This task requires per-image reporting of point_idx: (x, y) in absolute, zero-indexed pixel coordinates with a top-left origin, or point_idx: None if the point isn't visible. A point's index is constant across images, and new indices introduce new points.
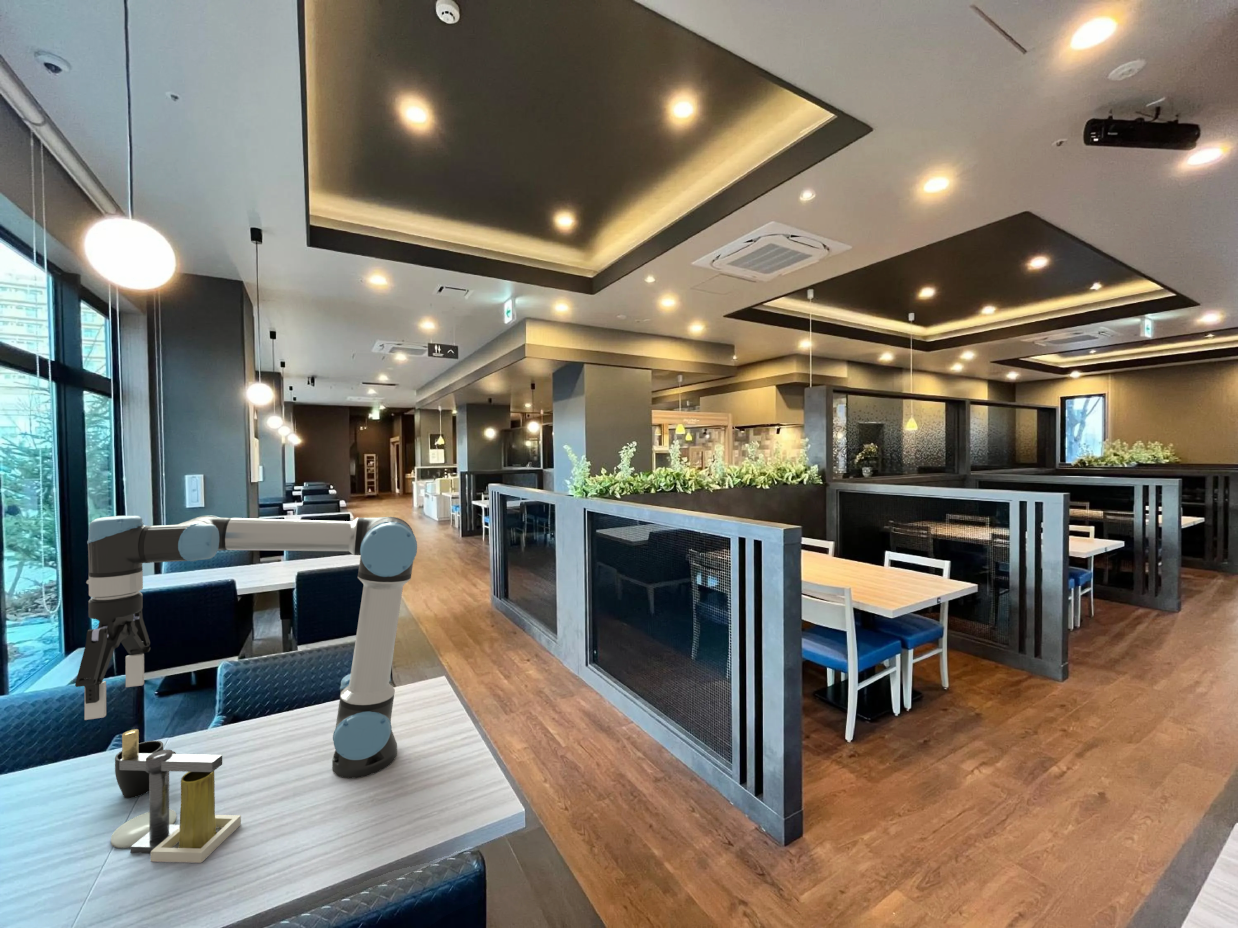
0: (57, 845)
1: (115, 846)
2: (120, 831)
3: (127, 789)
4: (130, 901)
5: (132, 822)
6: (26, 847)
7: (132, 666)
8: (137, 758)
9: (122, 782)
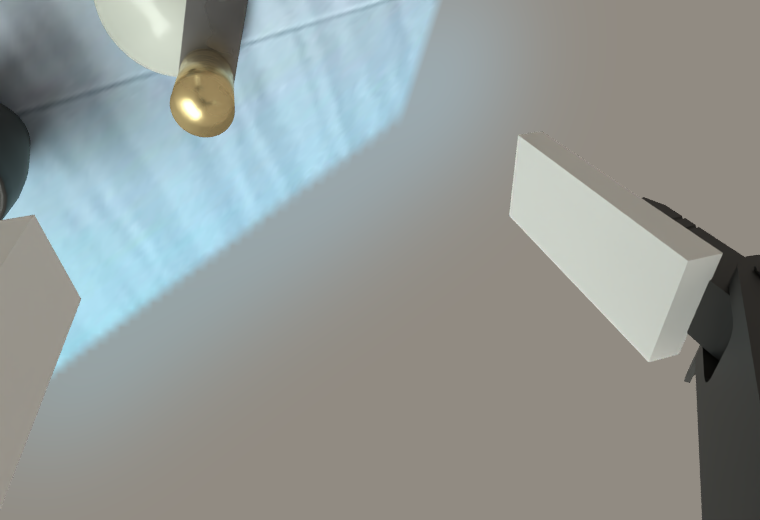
0: (212, 177)
1: None
2: None
3: (28, 147)
4: None
5: (153, 51)
6: (211, 230)
7: (3, 391)
8: (226, 34)
9: (28, 167)
